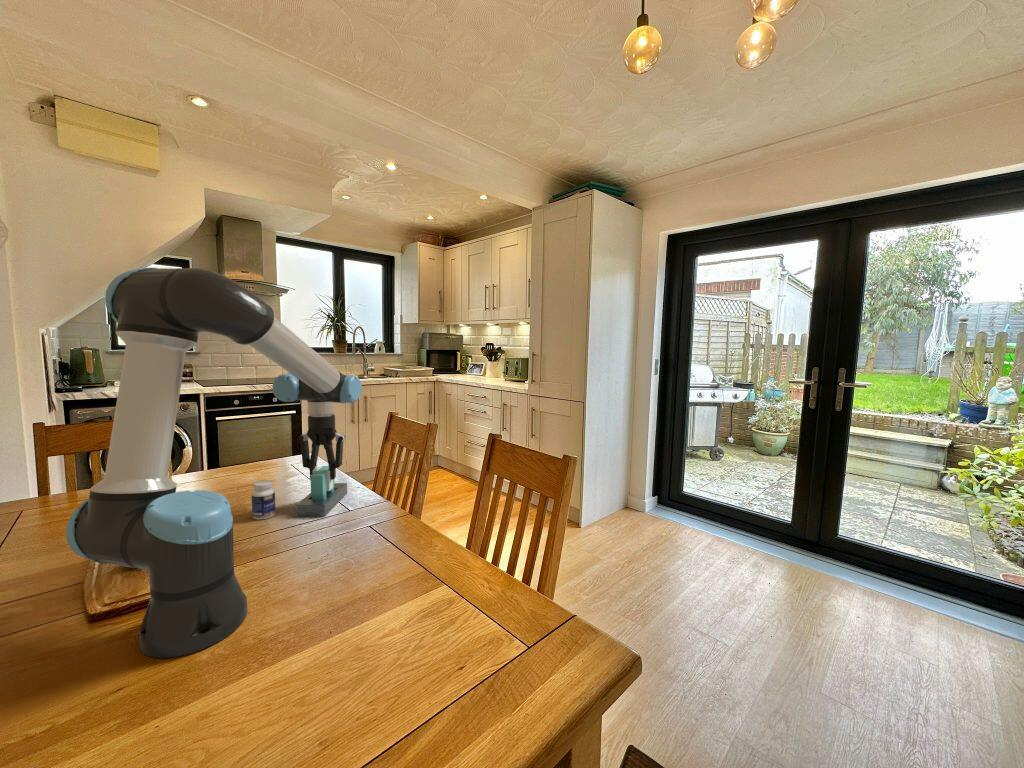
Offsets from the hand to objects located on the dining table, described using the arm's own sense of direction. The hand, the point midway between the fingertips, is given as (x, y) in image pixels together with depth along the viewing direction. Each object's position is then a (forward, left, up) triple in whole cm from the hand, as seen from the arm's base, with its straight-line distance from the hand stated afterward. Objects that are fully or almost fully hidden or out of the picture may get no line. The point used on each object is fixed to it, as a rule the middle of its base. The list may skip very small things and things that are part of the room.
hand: (323, 489), depth 126 cm
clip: (0, 0, -3) cm, 3 cm away
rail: (0, 0, -5) cm, 5 cm away
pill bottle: (-9, +13, -5) cm, 17 cm away
